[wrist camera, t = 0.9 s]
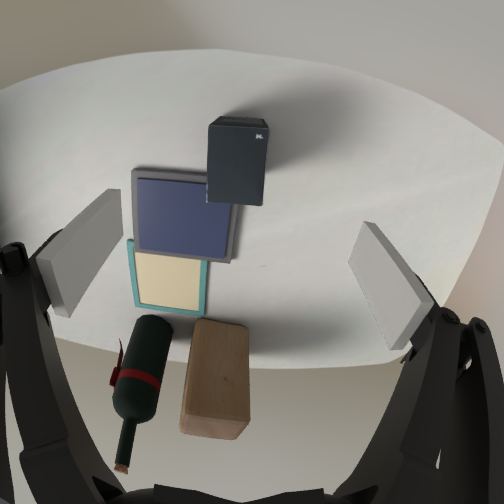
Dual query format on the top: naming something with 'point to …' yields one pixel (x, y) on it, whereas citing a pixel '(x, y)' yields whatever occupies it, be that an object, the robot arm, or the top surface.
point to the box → (237, 160)
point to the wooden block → (217, 381)
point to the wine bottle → (139, 380)
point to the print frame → (167, 282)
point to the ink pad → (180, 217)
